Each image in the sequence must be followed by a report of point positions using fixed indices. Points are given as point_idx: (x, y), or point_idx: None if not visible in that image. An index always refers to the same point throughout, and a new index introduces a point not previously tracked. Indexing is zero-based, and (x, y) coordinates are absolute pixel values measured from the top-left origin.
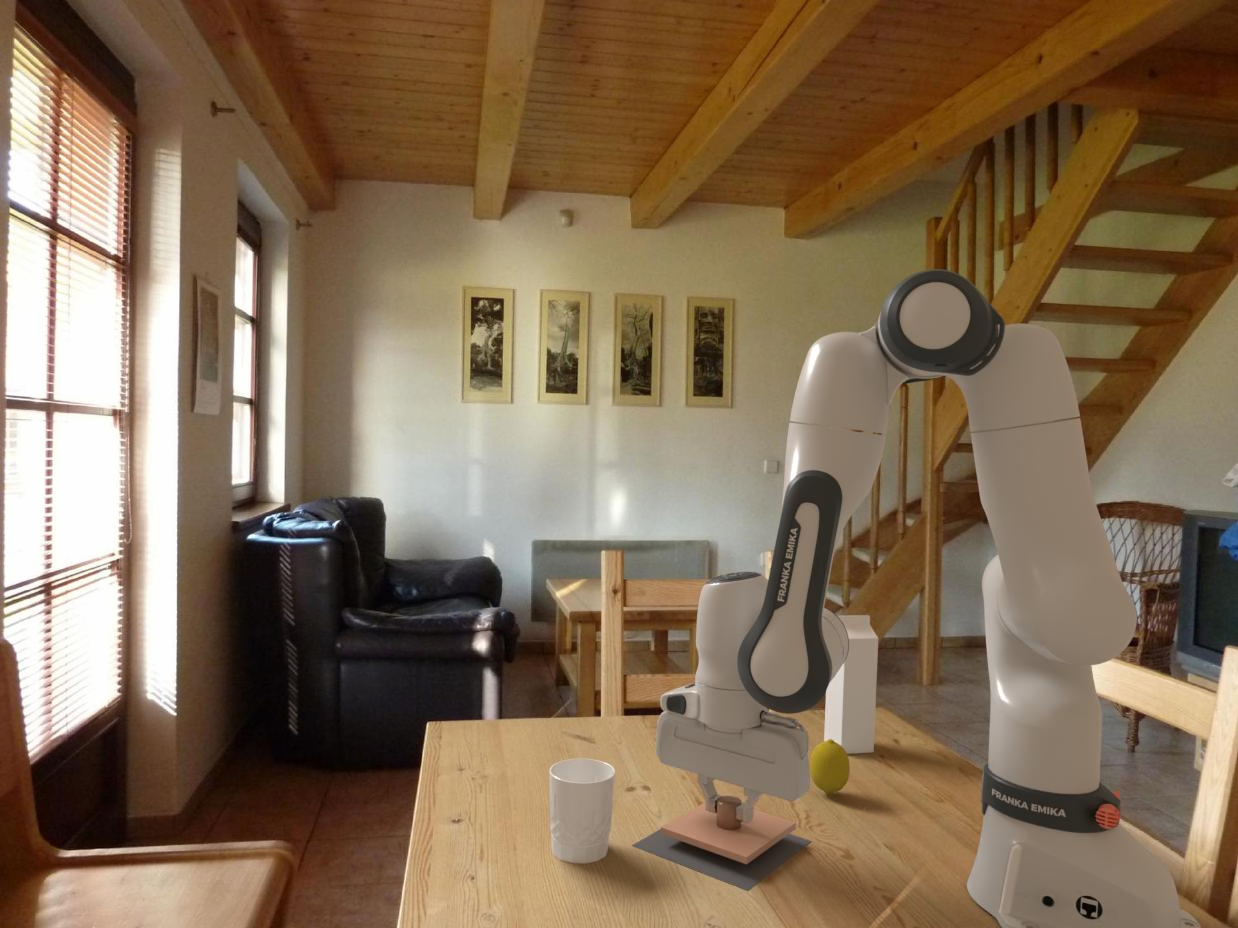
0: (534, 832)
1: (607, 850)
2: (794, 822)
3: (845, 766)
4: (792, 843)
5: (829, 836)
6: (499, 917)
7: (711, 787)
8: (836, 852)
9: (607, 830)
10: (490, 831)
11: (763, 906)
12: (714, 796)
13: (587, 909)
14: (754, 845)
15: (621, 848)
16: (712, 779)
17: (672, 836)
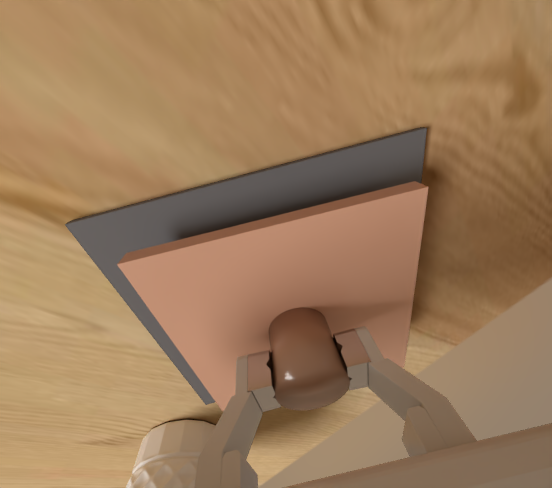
0: (99, 458)
1: (207, 429)
2: (423, 188)
3: None
4: (390, 186)
5: (448, 13)
6: (262, 483)
7: (242, 428)
8: (491, 106)
9: None
10: (78, 482)
11: (430, 346)
12: (258, 399)
13: (296, 450)
14: (395, 339)
15: (198, 406)
16: (248, 467)
17: None
